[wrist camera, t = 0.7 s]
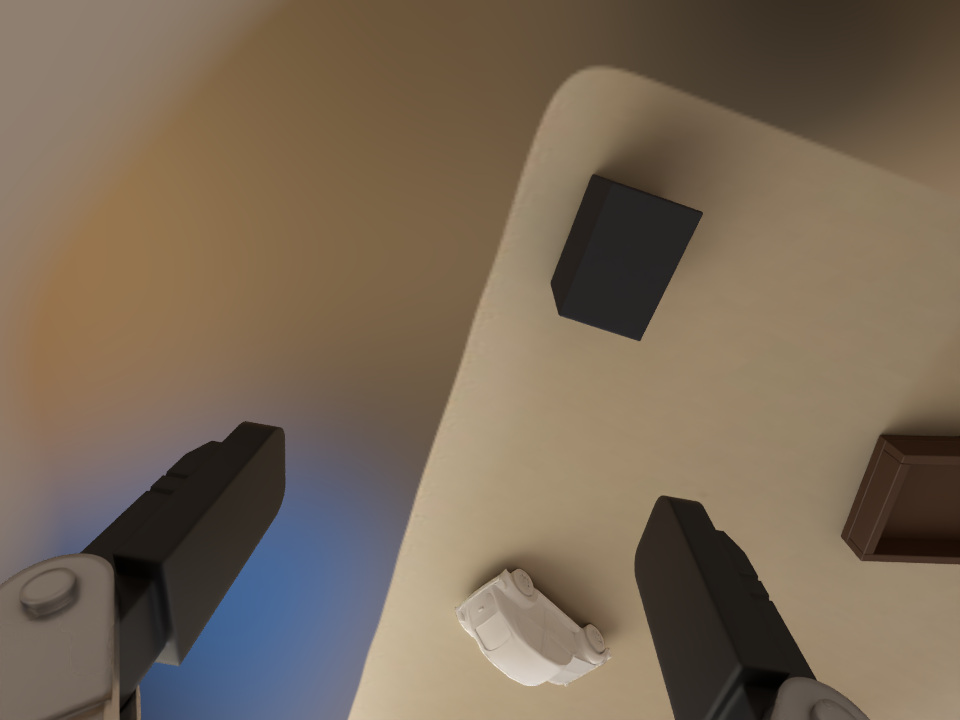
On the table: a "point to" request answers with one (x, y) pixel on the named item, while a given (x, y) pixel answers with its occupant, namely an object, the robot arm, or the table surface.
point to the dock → (908, 502)
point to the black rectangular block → (620, 257)
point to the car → (529, 632)
